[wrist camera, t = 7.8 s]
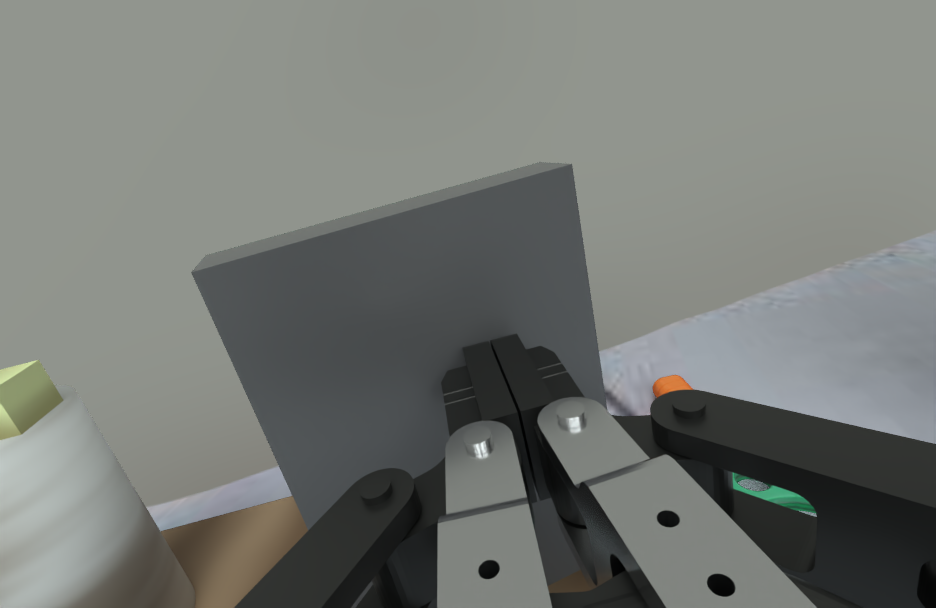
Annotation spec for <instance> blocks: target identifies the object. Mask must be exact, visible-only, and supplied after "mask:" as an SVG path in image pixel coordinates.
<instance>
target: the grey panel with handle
mask: <svg viewBox="0 0 936 608" xmlns="http://www.w3.org/2000/svg"><path fill="white" fill-rule="evenodd" d="M192 275H193V277H194V279H195V282H196V284H197V286H198V288H199V290H200V292H201V295H202V297H203V299H204V301H205V304H206V306H207V308H208V310H209V312H210V315H211V317H212V319H213V321H214V324H215V326H216V328H217V330H218V332H219V335H220V336H221V339H222V341H223V343H224V346H225V348H226V350H227V352H228V354H229V357H230V358H231V361H232V362H233V365H234V367H235V370H236V372H237V374H238V376H239V378H240V381H241V383H242V385H243V388H244V390H245V392H246V394H247V396H248V399H249V401H250V403H251V405H252V407H253V409H254V412H255V414H256V416H257V418H258V420H259V423H260V425H261V427H262V429H263V432H264V434H265V436H266V438H267V440H268V443H269V445H270V447H271V449H272V451H273V454H274V456H275V458H276V460H277V463H278V465H279V467H280V469H281V471H282V474H283V476H284V478H285V480H286V482H287V485H288V487H289V489H290V491H291V493H292V496H293V498H294V500H295V502H296V504H297V507H298V509H299V511H300V513H301V515H302V518H303V520H304V522H305V524H306V526H307V529H308V530H309V529H310V528H311V527H312V526H313V525H314V524H315V523H316V522H317V521H318V520H319V519H320V518H321V517H322V516H323V515H324V514H325V513H326V512H327V511H328V510H329V509H330V508H331V507H332V505H333V504H334V503H335V502H336V501H337V500H338V499H339V498H340V497H341V496H342V495H343V494H344V493H345V492H346V491H347V490H348V489H349V488H350V487H351V486H352V485H353V484H354V483H355V482H356V481H358V480H359V479H360V478H362V477H364V476H365V475H367V474H369V473H372V472H374V471H377V470H381V469H386V468H398V469H402V470H405V471H406V472H408V473H409V474H410V475H411V476H412V478H413V479H414V478H416V477H418V476H420V475H422V474H423V473H425V472H427V471H429V470H431V469H432V468H433V467H435V466H436V465H437V464H438V463H440V462H441V461H442V459H443V458H444V457H445V446H446V443H447V441H448V439H449V438H450V436H449V430H448V423H447V417H446V410H445V404H444V398H443V391H442V385H441V382H442V380H443V378H444V376H445V374H446V372H447V370H451V369H455V368H459V367H462V366H466V361H465V357H464V353H463V349H462V348H463V347H467V346H471V345H474V344H478V343H482V342H486V341H489V343H490V340H493V339H497V338H501V337H504V336H508V335H512V334H516V333H517V334H518V336H519V338H520V340H521V342H522V343H523V345H524V347H525V349H530V348H534V347H538V346H543V347H545V348H547V349H549V350H551V351H553V352H555V354H556V355H557V357H558V358H559V360H560V361H561V364H563V366H564V367H565V369H566V370H567V372H568V373H569V374H570V376H571V377H572V379H573V380H574V382H575V383H576V385H577V386H578V388H579V389H580V391H581V392H582V394H583V395H584V397H585V398H589V399H592V400H595V401H597V402H598V403H600V404H601V405H602V406H603V407H604V408H605V409H606V410H607V406H606V399H605V392H604V385H603V378H602V371H601V364H600V357H599V350H598V343H597V336H596V329H595V322H594V315H593V308H592V301H591V294H590V287H589V280H588V273H587V266H586V259H585V252H584V245H583V238H582V232H581V224H580V218H579V210H578V203H577V196H576V189H575V182H574V175H573V169H572V164H562V163H542V162H539V163H535V164H532V165H528V166H525V167H521V168H517V169H514V170H511V171H507V172H504V173H500V174H496V175H492V176H489V177H485V178H482V179H478V180H475V181H471V182H468V183H464V184H460V185H456V186H453V187H449V188H446V189H442V190H439V191H435V192H432V193H428V194H424V195H421V196H417V197H414V198H410V199H406V200H403V201H399V202H396V203H392V204H388V205H385V206H382V207H378V208H374V209H371V210H367V211H363V212H360V213H356V214H353V215H349V216H345V217H342V218H338V219H335V220H331V221H327V222H324V223H320V224H317V225H314V226H310V227H306V228H302V229H299V230H295V231H292V232H289V233H284V234H281V235H277V236H274V237H270V238H267V239H263V240H259V241H256V242H252V243H249V244H245V245H242V246H238V247H234V248H231V249H228V250H224V251H220V252H216V253H213V254H209V255H206V256H205V257H204V258H203V259H202V260H201V262H200V263H199V264H198V265H197V266H196V267H195V269H194V270H193V271H192ZM490 346H491V343H490ZM533 484H534V483H533ZM534 488H535V485H534ZM535 493H536V497H537V502H535V503H532V507H533V511H534V515H535V527H534V529H535V533H536V538H537V542H538V546H539V551H540V555H541V560H542V564H543V568H544V573H545V577H546V581H547V586H549V585H551V584H553V583H555V582H557V581H559V580H561V579H563V578H565V577H567V576H569V575H571V574H573V573H575V572H577V571H579V570H580V568H579V566H578V564H577V562H576V560H575V558H574V556H573V554H572V552H571V550H570V548H569V546H568V544H567V542H566V540H565V538H564V536H563V534H562V532H561V530H560V527H559V523H558V518H557V514H556V509H555V505H554V503H553V500H552V498H549V499H545V500H542V501H540V499H539V496H538V493H537V491H536V488H535ZM372 585H373V583H372V581H371V582H370V583H369V585H368V586H367V587H366V589H365V590H364V591H363V592H362V594H361V595H360V596H359V598H358V599H357V600H356V602H355V603H354V604H353V606H352V607H351V608H356V606H357V605H358V604H359V602H360V601H361V600H362V598H363V597H364V596H365V594H366V593H367V592H368V590H369V589H370V588H371V586H372Z"/></svg>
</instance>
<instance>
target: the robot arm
mask: <svg viewBox="0 0 936 608" xmlns="http://www.w3.org/2000/svg"><path fill="white" fill-rule="evenodd" d="M490 343H491V346H490ZM490 343H489V341H486V342H482V343H478V344H474V345H471V346H467V347H463V348H462V349H463V353H464V357H465V361H466V366H462V367H459V368H455V369H451V370H447V372H446V374H445V376H444V378H443V380H442V382H441V385H442V391H443V398H444V404H445V410H446V417H447V423H448V430H449V436H450V438H449V439H448V441H447V443H446V446H445V457H444V458H443V459H442V461H441V462H440V463H438V464H437V465H436V466H435V467H433V468H432V469H431V470H429V471H427V472H425V473H423V474H422V475H420V476H418V477H416V478H414V479H413V478H412V476H411V475H410V474H409V473H408V472H406V471H405V470H402V469H398V468H386V469H381V470H377V471H374V472H372V473H369V474H367V475H365V476H364V477H362V478H360V479H359V480H358V481H356V482H355V483H354V484H353V485H352V486H351V487H350V488H349V489H348V490H347V491H346V492H345V493H344V494H343V495H342V496H341V497H340V498H339V499H338V500H337V501H336V502H335V503H334V504H333V505H332V507H331V508H330V509H329V510H328V511H327V512H326V513H325V514H324V515H323V516H322V517H321V518H320V519H319V520H318V521H317V522H316V523H315V524H314V525H313V526H312V527H311V528H310V529H309V530H308V531H307V532H306V533H305V534H304V535H303V537H302V538H301V539H300V540H299V541H298V542H297V543H296V544H295V545H294V546H293V547H292V548H291V549H290V550H289V551H288V552H287V553H286V554H285V555H284V556H283V557H282V558H281V559H280V560H279V561H278V562H277V563H276V564H275V566H274V567H273V568H272V569H271V570H270V571H269V572H268V573H267V574H266V575H265V576H264V577H263V578H262V579H261V580H260V581H259V582H258V583H257V584H256V585H255V586H254V587H253V588H252V589H251V590H250V591H249V592H248V593H247V595H246V596H245V597H244V598H243V599H242V600H241V601H240V602H239V603H238V604H237V605H236V606H235V607H234V608H351V607H352V606H353V604H354V603H355V602H356V600H357V599H358V598H359V596H360V595H361V594H362V592H363V591H364V590H365V589H366V587H367V586H368V585H369V583H370V582H371V581H372V583H373V585H372V586H371V588H370V589H369V590H368V592H367V593H366V594H365V596H364V597H363V598H362V600H361V601H360V602H359V604H358V605H357V606H356V608H936V444H933V443H928V442H924V441H919V440H915V439H911V438H906V437H902V436H897V435H893V434H889V433H884V432H880V431H876V430H871V429H867V428H862V427H858V426H854V425H849V424H845V423H840V422H836V421H832V420H827V419H823V418H819V417H814V416H810V415H805V414H801V413H797V412H792V411H788V410H783V409H779V408H775V407H770V406H766V405H761V404H757V403H753V402H748V401H744V400H740V399H735V398H731V397H726V396H722V395H718V394H713V393H709V392H704V391H699V390H676V391H671V392H668V393H665V394H663V395H661V396H659V397H658V398H656V399H655V400H654V401H653V403H652V404H651V407H650V413H651V415H645V416H615V415H611V414H610V413H609V412H608V411H607V410H606V409H605V408H604V407H603V406H602V405H601V404H600V403H598V402H597V401H595V400H592V399H589V398H585V397H584V395H583V394H582V392H581V391H580V389H579V388H578V386H577V385H576V383H575V382H574V380H573V379H572V377H571V376H570V374H569V373H568V372H567V370H566V369H565V367H564V366H563V364H561V361H560V360H559V358H558V357H557V355H556V354H555V352H553V351H551V350H549V349H547V348H545V347H543V346H538V347H534V348H530V349H525V347H524V345H523V343H522V342H521V340H520V338H519V336H518V334H517V333H516V334H512V335H508V336H504V337H501V338H497V339H493V340H490ZM733 473H736V474H739V475H742V476H746V477H749V478H752V479H755V480H758V481H761V482H764V483H767V484H770V485H773V486H776V487H779V488H782V489H785V490H788V491H791V492H794V493H796V494H798V495H800V496H801V497H803V498H804V499H806V500H807V501H808V502H809V503H810V504H811V505H812V506H813V508H814V509H815V511H816V514H817V517H814V516H810V515H807V514H805V513H802V512H799V511H796V510H793V509H790V508H787V507H785V506H782V505H779V504H776V503H773V502H770V501H767V500H764V499H762V498H759V497H756V496H753V495H750V494H747V493H744V492H741V491H739V490H736V489H733ZM533 483H534V484H533ZM534 485H535V488H536V491H537V493H538V496H539V499H540V501H542V500H545V499H549V498H552V500H553V503H554V505H555V509H556V514H557V518H558V523H559V527H560V530H561V532H562V534H563V536H564V538H565V540H566V542H567V544H568V546H569V548H570V550H571V552H572V554H573V556H574V558H575V560H576V562H577V564H578V566H579V568H580V570H581V572H582V574H583V575H584V577H585V579H586V581H587V583H588V585H589V587H590V589H591V590H589V591H584V592H563V593H549V590H548V586H547V581H546V577H545V573H544V568H543V564H542V560H541V555H540V551H539V546H538V542H537V538H536V533H535V529H534V527H535V515H534V511H533V507H532V503H535V502H537V497H536V493H535V488H534Z"/></svg>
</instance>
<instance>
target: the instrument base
mask: <svg viewBox="0 0 936 608" xmlns="http://www.w3.org/2000/svg"><path fill="white" fill-rule="evenodd" d="M307 531H308V529H307V526H306V524H305V522H304V520H303V518H302V515H301V513H300V511H299V509H298V507H297V504H296V502H295V500H294V498H293V496H290V497H287V498H283V499H279V500H276V501H272V502H268V503H264V504H261V505H257V506H253V507H250V508H246V509H242V510H238V511H235V512H231V513H227V514H224V515H220V516H216V517H212V518H209V519H205V520H201V521H198V522H194V523H190V524H187V525H183V526H179V527H175V528H172V529H168V530H164V531H161V532H160V530H159V528H158V527H157V525H156V523H155V522H154V520H153V518H152V517H151V515H150V513H149V512H148V510H147V508H146V507H145V505H144V503H143V502H142V500H141V499H140V497H139V495H138V493H137V492H136V490H135V488H134V487H133V485H132V483H131V482H130V480H129V479H128V477H127V475H126V473H125V472H124V470H123V469H122V467H121V465H120V463H119V462H118V460H117V458H116V457H115V455H114V453H113V452H112V450H111V448H110V447H109V445H108V443H107V442H106V440H105V438H104V437H103V435H102V433H101V432H100V430H99V428H98V427H97V425H96V423H95V422H94V420H93V418H92V417H91V415H90V414H89V412H88V410H87V408H86V407H85V405H84V403H83V402H82V400H81V398H80V397H79V395H78V393H77V392H76V390H75V389H74V388H73V387H72V386H69V385H54V384H53V382H52V381H51V379H50V377H49V376H48V374H47V373H46V371H45V369H44V368H43V366H42V364H41V363H40V361H39V360H37V361H32V362H29V363H25V364H21V365H17V366H13V367H9V368H5V369H1V370H0V608H234V607H235V606H236V605H237V604H238V603H239V602H240V601H241V600H242V599H243V598H244V597H245V596H246V595H247V593H248V592H249V591H250V590H251V589H252V588H253V587H254V586H255V585H256V584H257V583H258V582H259V581H260V580H261V579H262V578H263V577H264V576H265V575H266V574H267V573H268V572H269V571H270V570H271V569H272V568H273V567H274V566H275V564H276V563H277V562H278V561H279V560H280V559H281V558H282V557H283V556H284V555H285V554H286V553H287V552H288V551H289V550H290V549H291V548H292V547H293V546H294V545H295V544H296V543H297V542H298V541H299V540H300V539H301V538H302V537H303V535H304V534H305V533H306V532H307ZM548 590H549V593H563V592H584V591H589V590H591V589H590V587H589V585H588V583H587V581H586V579H585V577H584V575H583V574H582V572H581V570H579V571H577V572H575V573H573V574H571V575H569V576H567V577H565V578H563V579H561V580H559V581H557V582H555V583H553V584H551V585H549V586H548Z"/></svg>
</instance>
